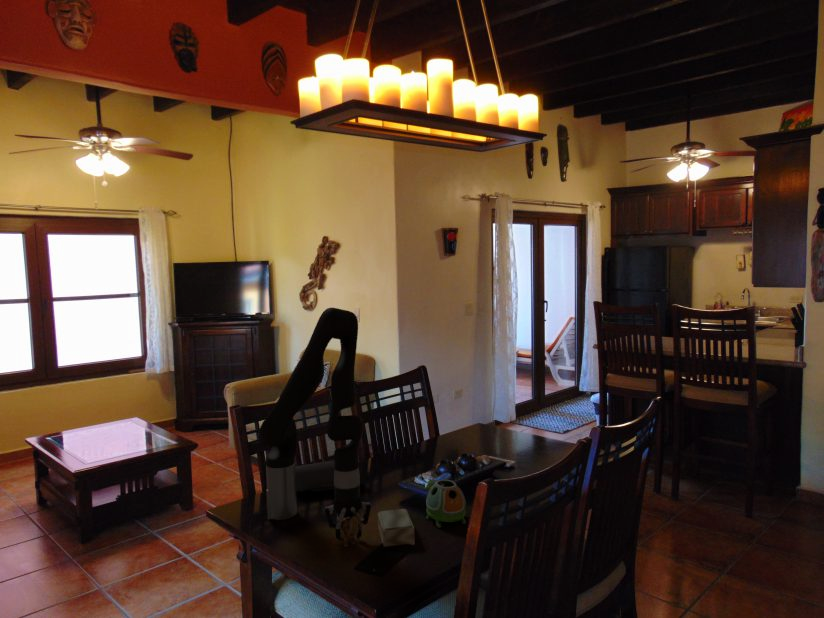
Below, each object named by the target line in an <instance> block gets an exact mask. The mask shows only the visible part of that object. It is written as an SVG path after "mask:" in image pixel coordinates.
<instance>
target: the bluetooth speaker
mask: <svg viewBox="0 0 824 618" xmlns="http://www.w3.org/2000/svg"><path fill="white" fill-rule="evenodd" d="M295 482H296V492H297V491H298V492H300V491H312V492H313V493H319V492H325V491H326V492H327V491H331V490H332V491H333V490H334V460H330V461H322V462H315V463H314V462H313V463H309V464H308V463H307V464H304V465H303V464H302V465H297V466H295ZM318 491H319V492H318Z"/></svg>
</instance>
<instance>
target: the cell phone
mask: <svg viewBox="0 0 824 618" xmlns="http://www.w3.org/2000/svg"><path fill="white" fill-rule="evenodd" d="M413 546H414V545H411V544H403V545H394V546H385V547H384V545H383V543H382V542H381V543H380V544H379V545H378V546H376V548H374V550H372V551H371V552H369V554H367V556H365V557H364V558H363V559H362V560H360V561H359V562H358V563H357V564H356V565H355V566H354V567H353V568H354V570H355V571H357V570H359V571H358V572H361V571H362V572H363V573H365V572H366V573H365V574H370V575H373V576H377V577H384V575H386V573H388V571H390V570H391V569H392V568H393V567H394V566H395V565H396V564H397V563H398V562H399V561H400V560H401V559H402V558H403V557H404V556H405V555H406V554H407V553H408V552H409V551H410V550H412V549H413ZM404 554H405V555H404ZM403 555H404V556H403ZM402 556H403V557H402ZM401 557H402V558H401ZM400 558H401V559H400ZM399 559H400V560H399ZM398 560H399V561H398ZM397 561H398V562H397ZM396 562H397V563H396ZM395 563H396V564H395ZM394 564H395V565H394ZM393 565H394V566H393ZM392 566H393V567H392ZM391 567H392V568H391ZM390 568H391V569H390Z"/></svg>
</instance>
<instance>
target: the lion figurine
mask: <svg viewBox="0 0 824 618" xmlns="http://www.w3.org/2000/svg"><path fill="white" fill-rule="evenodd" d="M363 524H364V523H362V522H360V520H358V517H356V516H355V517H354V516H353V517H347V518H343V520H342V522H341V525H340V530H341V531H342V535H343V537H342V538H343V542H344V543H343V544H344V545H343V547H345V548H347V547H349V542H348V537H349V538H350V543H351V545H355V544H356V543H357V542H356V541H355V540H354V539H355V536H356V533H358V529H360V530H361V531H362V529H363V527H364V525H365V524H364V525H363Z"/></svg>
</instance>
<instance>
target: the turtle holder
mask: <svg viewBox="0 0 824 618" xmlns="http://www.w3.org/2000/svg"><path fill="white" fill-rule="evenodd" d="M440 484H441V485H440ZM425 489H426V492H427V496H426V499H425V502H426V503H425V504H426V514H427V515H426V518H425V519H426V520H431V519H432V520H434V521H435V526H436V527H437V528H443V527H442V524H441V522H443V523H444V522H445V523H453V522H460V523H461V524H463V525H465V524H466V520H465V516H466V514H467V510H466V504H467V501H466V498H465V495H464V492H463V491H462V489H461V488H460V487H459V486H458V485H457V483H456V482H454V480H451V479H439V480H436V481H432V480H428V481H427V484H426V485H425Z"/></svg>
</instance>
